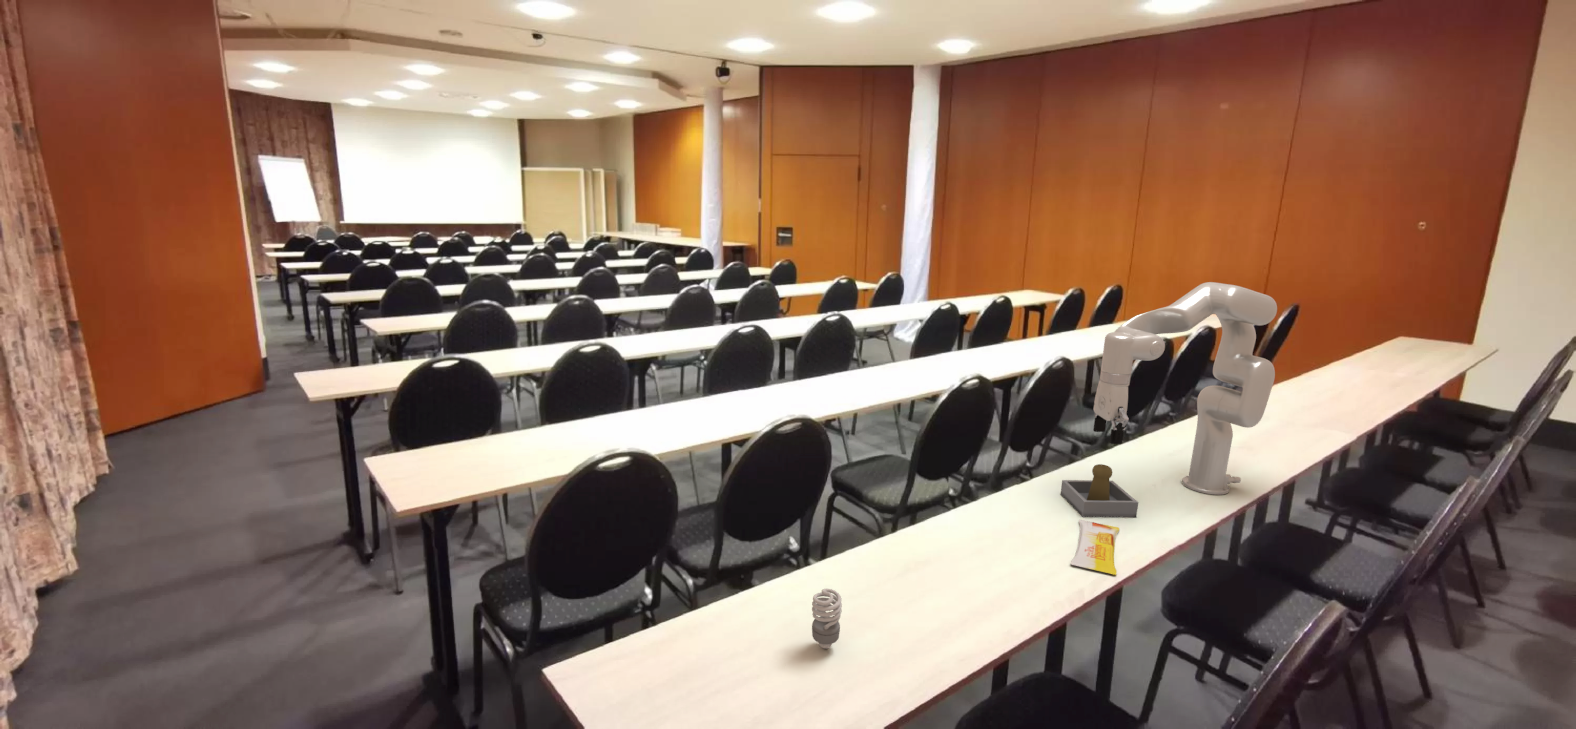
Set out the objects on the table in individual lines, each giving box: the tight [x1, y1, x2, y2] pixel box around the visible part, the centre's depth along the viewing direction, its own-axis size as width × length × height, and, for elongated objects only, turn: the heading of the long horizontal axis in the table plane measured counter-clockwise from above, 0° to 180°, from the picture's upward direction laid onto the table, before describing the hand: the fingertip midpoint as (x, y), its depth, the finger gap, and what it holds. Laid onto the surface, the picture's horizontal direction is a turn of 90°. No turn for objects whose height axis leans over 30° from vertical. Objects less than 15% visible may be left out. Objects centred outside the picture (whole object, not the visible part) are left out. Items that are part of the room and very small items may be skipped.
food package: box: [1070, 519, 1120, 576], centre depth 179 cm, size 27×2×10 cm
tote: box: [1060, 479, 1139, 519], centre depth 203 cm, size 15×15×4 cm
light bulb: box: [811, 588, 843, 649], centre depth 136 cm, size 6×6×12 cm
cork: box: [1087, 463, 1113, 501], centre depth 202 cm, size 6×6×11 cm
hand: (1107, 437), depth 199 cm, fingers open, 9 cm apart
